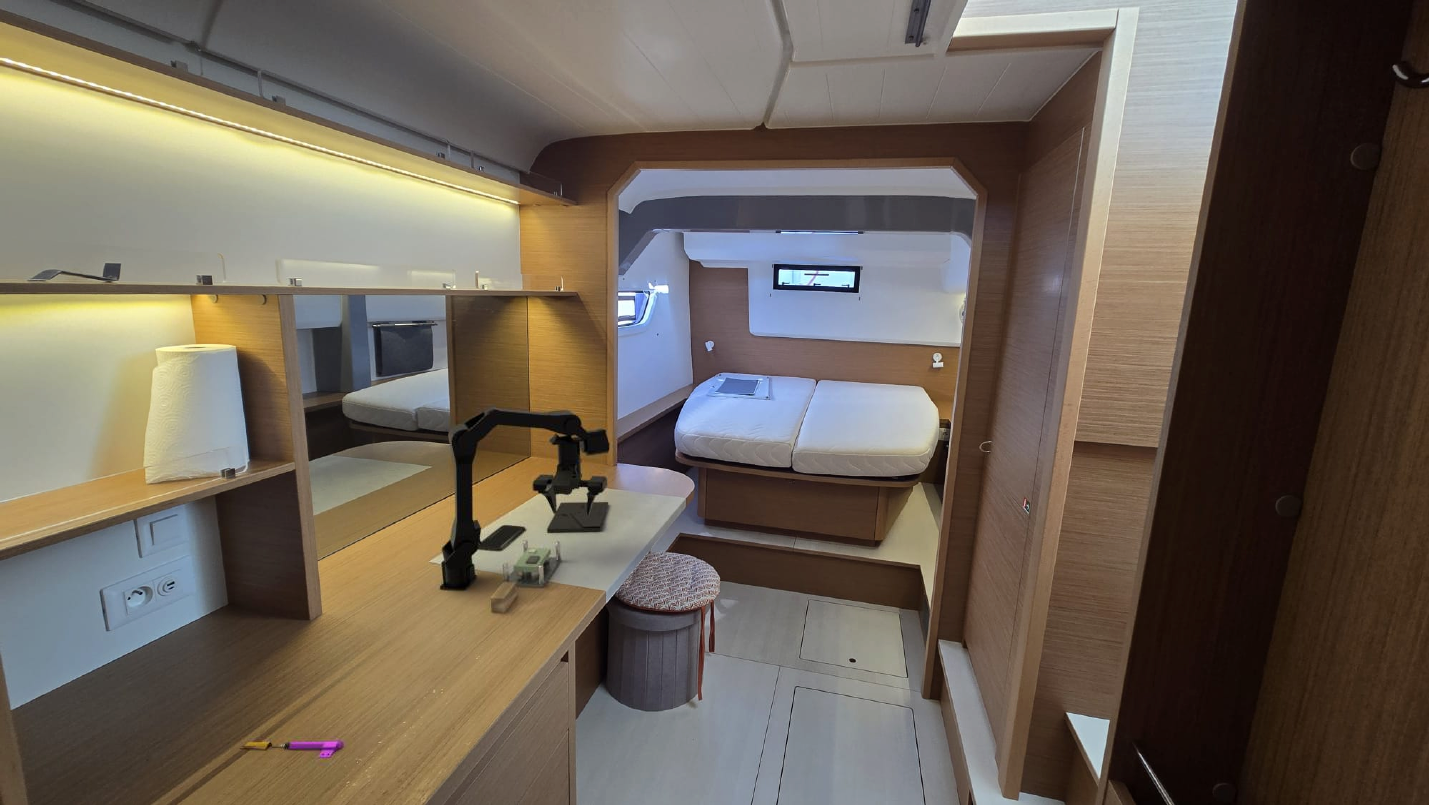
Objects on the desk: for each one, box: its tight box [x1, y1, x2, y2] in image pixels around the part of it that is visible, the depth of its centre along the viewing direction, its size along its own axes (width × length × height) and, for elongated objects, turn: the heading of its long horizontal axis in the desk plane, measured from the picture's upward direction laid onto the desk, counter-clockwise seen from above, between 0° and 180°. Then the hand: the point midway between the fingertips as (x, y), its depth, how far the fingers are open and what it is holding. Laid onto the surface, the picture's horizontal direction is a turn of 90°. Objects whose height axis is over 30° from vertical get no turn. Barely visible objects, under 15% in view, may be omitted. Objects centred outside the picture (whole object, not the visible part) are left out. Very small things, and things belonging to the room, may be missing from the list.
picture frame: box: [546, 501, 609, 534], centre depth 177 cm, size 16×3×21 cm
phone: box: [477, 524, 526, 552], centre depth 162 cm, size 8×1×15 cm
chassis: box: [502, 539, 562, 589], centre depth 143 cm, size 10×14×6 cm
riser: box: [490, 581, 517, 613], centre depth 129 cm, size 3×7×4 cm, turn 177°
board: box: [513, 547, 552, 572], centre depth 142 cm, size 6×10×2 cm, turn 178°
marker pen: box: [246, 740, 344, 759], centre depth 88 cm, size 3×1×16 cm
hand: (571, 513), depth 149 cm, fingers open, 9 cm apart
